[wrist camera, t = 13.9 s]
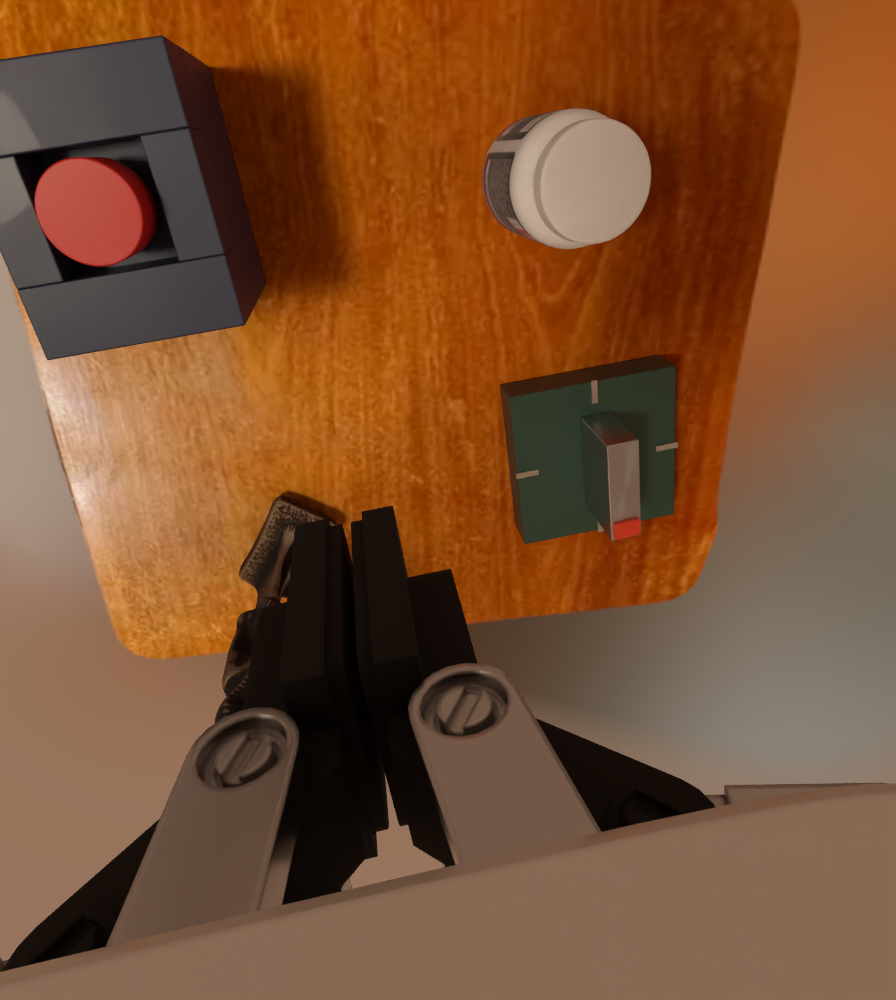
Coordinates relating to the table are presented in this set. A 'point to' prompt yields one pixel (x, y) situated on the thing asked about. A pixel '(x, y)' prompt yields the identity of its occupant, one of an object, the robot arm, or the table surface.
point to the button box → (163, 167)
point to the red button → (95, 210)
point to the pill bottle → (567, 178)
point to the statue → (263, 590)
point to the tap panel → (558, 441)
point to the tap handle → (611, 475)
